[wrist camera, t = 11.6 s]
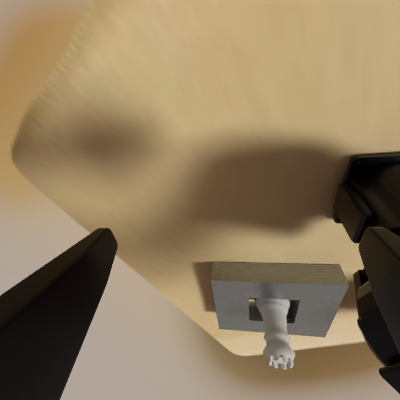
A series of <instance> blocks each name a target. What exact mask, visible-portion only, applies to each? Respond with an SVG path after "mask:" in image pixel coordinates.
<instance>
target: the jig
mask: <svg viewBox="0 0 400 400" xmlns="http://www.w3.org/2000/svg"><path fill="white" fill-rule="evenodd" d="M211 286H212V291H213V297H214V302H215V308H216V314H217V319H218V325H219V329H227V330H240V331H253V332H265V327H264V322H263V318H262V315H261V313H260V312H259V309H258V308H257V306H256V304H255V302H249V298H266V299H285V300H291V304H290V307H289V309H288V313H287V316H286V319H287V332H288V334H291V335H303V336H316V337H325V336H326V334H327V332H328V330H329V328H330V325H331V323H332V321H333V319H334V317H335V315H336V313H337V311H338V308H339V306H340V304H341V302H342V300H343V298H344V296H345V294H346V291H347V289H348V287H349V284H348V282H347V280H346V277H345V275H344V273H343V271H342V268H341V266H340V265H325V264H282V263H239V262H212V271H211Z"/></svg>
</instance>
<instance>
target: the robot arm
mask: <svg viewBox="0 0 400 400" xmlns="http://www.w3.org/2000/svg"><path fill="white" fill-rule="evenodd" d="M357 161H360V162H359V163H358V164H355V163H356V162H357ZM333 208H334V214H333V219H334V221H335V222H336V223H342V224H343V226H344V228H345V230H346V231H347V233H348V235H349V237H350V239H351V240H352V241H353V242H354V243H359V252H360V255H361V258H362V261H363V265H364V269H363V270H358V271H357V272H356V273H354V274H353V277H354V285H355V293H356V300H357V308H358V316H359V318H358V319H357V322H358V326H359V328H360V330H361V332H362V334H363V336H364V339H365V341H366V342H367V344H368V346H369V347H370V349H371V350H372V352H373V353H374V354H375V356H376V357H377V358H378V360H379V361H380V362H381V363H382V364H383V365H384V366H385V367H383V368H380V369H379V373H380V375H381V376H382V377H383V378H384V379H385V380H386V381H387V382H388V383H389V384H390V385H391V386H392V387H393V388H394V389H395V390H396V391H397V392H398V393H399V394H400V153H390V154H373V155H358V156H354V157H352V158H351V159H350V161H349V163H348V166H347V170H346V173H345V177H344V180H343V182H342V183H341V184H340V185H339V189H338V192H337V196H336V199H335V203H334V206H333ZM116 251H117V241H116V239H115V237H114V235H113V233H112V231H111V230H110V229H109V228H99V229H97V230H95V231H94V232H92V233H91V234H89V235H88V236H87V237H85V238H84V239H82V240H81V241H79V242H78V243H76V244H75V245H73V246H72V247H70V248H69V249H68V250H66V251H65V252H63V253H62V254H60V255H59V256H58V257H56V258H54V259H53V260H52V261H50V262H49V263H47V264H46V265H44V266H43V267H42V268H40V269H38V270H37V271H35V272H34V273H33V274H31V275H30V276H28V277H27V278H25V279H24V280H22V281H21V282H19V283H18V284H16V285H15V286H14V287H12V288H11V289H9V290H8V291H6V292H5V293H3V294H2V295H1V296H0V400H60V398H61V395H62V393H63V391H64V388H65V386H66V383H67V381H68V378H69V376H70V373H71V371H72V368H73V366H74V363H75V361H76V358H77V356H78V353H79V351H80V349H81V346H82V344H83V341H84V339H85V336H86V334H87V331H88V329H89V326H90V324H91V322H92V319H93V317H94V314H95V312H96V309H97V307H98V304H99V302H100V299H101V297H102V294H103V292H104V289H105V287H106V284H107V281H108V278H109V275H110V271H111V268H112V264H113V261H114V257H115V254H116Z"/></svg>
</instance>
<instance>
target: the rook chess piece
mask: <svg viewBox="0 0 400 400" xmlns="http://www.w3.org/2000/svg"><path fill="white" fill-rule="evenodd" d="M255 304H256V306H257V308H258V309H259V312H260V313H261V315H262V318H263V322H264V327H265V335H264V339H265V340H266V343H267V346H266V347H265V349H264V351H263V354H264V355H265V357H266V358H267V362H268V365H269V366H271V365H273V368H278V365H277V364H281V367H282V369H287V368H286V364H287V363H288V367H289V368H292V367H293V359H294V357H295V353H294V351H293V350H292V349H291V348H290V346H289V341H290V337H289V335H288V332H287V319H286V316H287V313H288V309H289V307H290V300H285V299H266V298H255Z"/></svg>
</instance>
